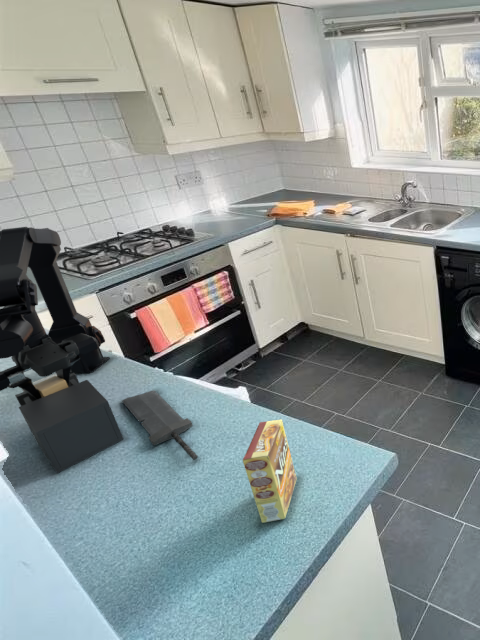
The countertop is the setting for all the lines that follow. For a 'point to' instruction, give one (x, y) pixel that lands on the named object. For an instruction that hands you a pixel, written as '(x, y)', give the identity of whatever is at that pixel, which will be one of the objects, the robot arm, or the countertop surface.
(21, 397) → the dark grey drawer
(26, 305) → the robot arm
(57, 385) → the block
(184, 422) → the grey flat handled slab
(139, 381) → the countertop surface
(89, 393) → the dark grey drawer box
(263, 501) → the candy box
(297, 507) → the countertop surface
